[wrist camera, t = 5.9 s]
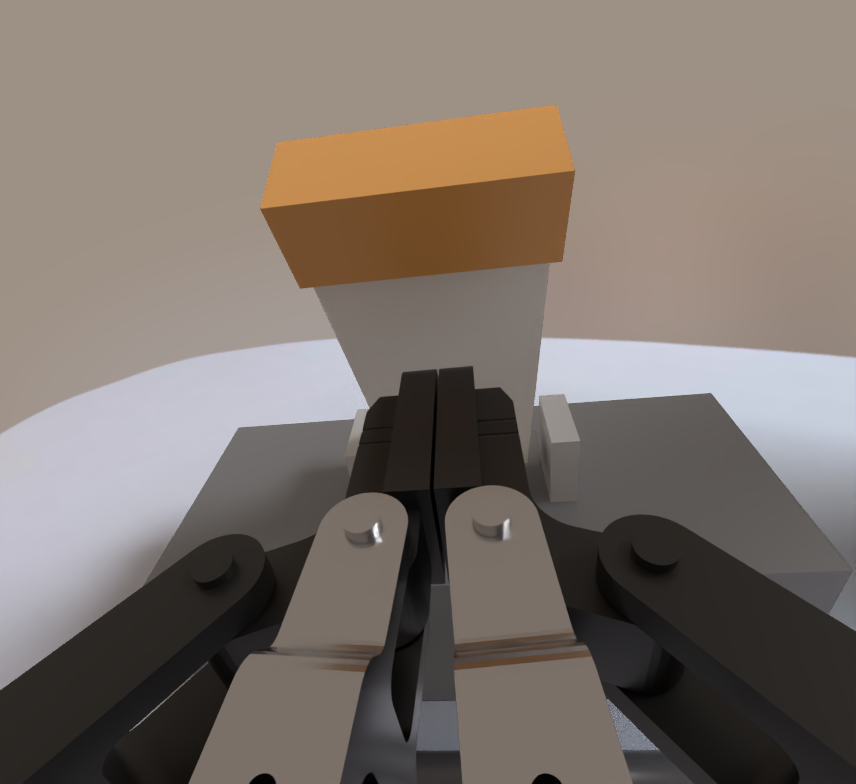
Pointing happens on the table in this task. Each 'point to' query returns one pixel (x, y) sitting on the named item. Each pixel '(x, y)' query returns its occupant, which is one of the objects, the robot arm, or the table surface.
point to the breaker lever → (431, 245)
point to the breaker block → (543, 508)
